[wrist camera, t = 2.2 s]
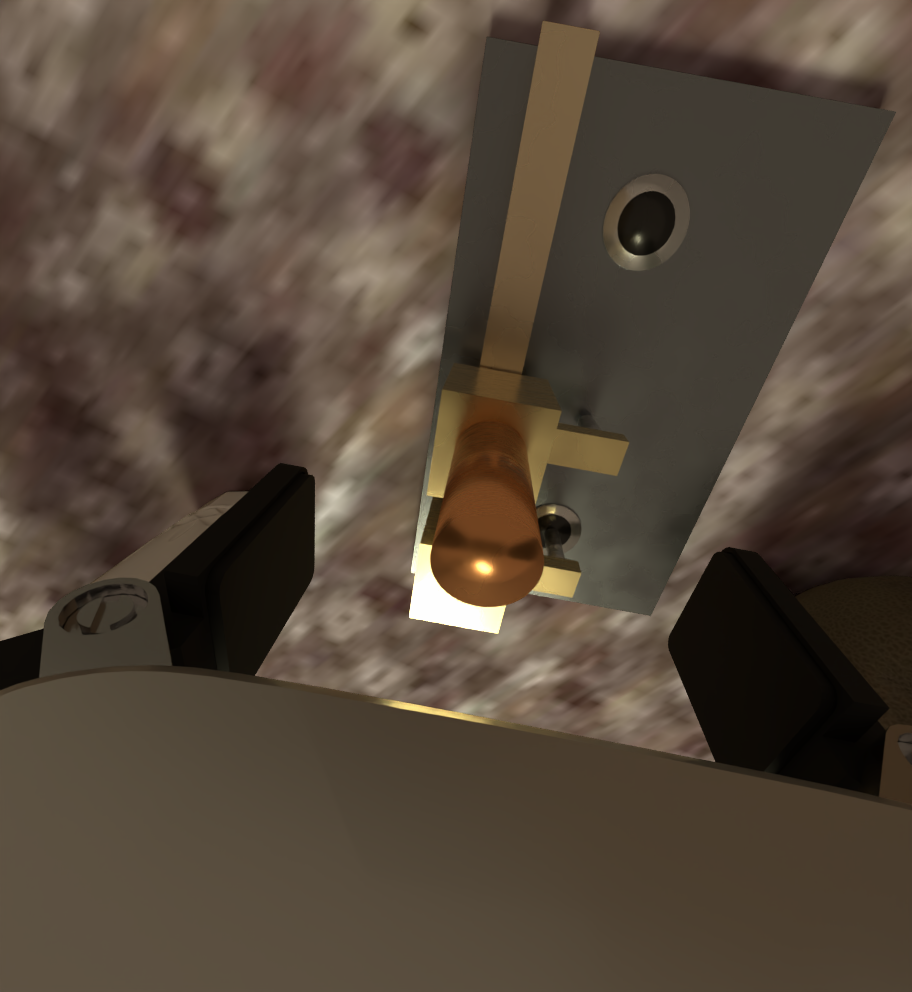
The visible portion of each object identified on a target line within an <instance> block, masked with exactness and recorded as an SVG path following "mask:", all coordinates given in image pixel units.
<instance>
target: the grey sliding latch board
mask: <svg viewBox="0 0 912 992" xmlns="http://www.w3.org/2000/svg"><path fill="white" fill-rule="evenodd" d="M599 33H600V31H596V30H591V29H585V28H580V27H574V26H569V25H564V24H558V23H553V22H547V21H543V23H542V28H541V33H540V38H539V44H538V46H535V45H530V44H524V43H519V42H513V41H508V40H502V39H497V38H491V37H487V39H486V46H485V53H484V60H483V67H482V74H481V81H480V88H479V95H478V102H477V109H476V117H475V124H474V131H473V138H472V145H471V152H470V159H469V166H468V173H467V180H466V187H465V194H464V201H463V208H462V215H461V222H460V230H459V237H458V244H457V251H456V258H455V265H454V272H453V279H452V286H451V293H450V300H449V307H448V314H447V321H446V328H445V335H444V343H443V350H442V357H441V364H440V371H439V378H438V385H437V392H436V399H435V406H434V413H433V420H432V427H431V434H430V441H429V449H428V456H427V463H426V470H425V477H424V484H423V491H422V498H421V505H420V512H419V519H418V526H417V533H416V540H415V547H414V554H413V562H412V569H411V572H412V573H416V574H415V581H414V587H413V594H412V601H411V608H410V614H409V618H414V619H420V620H425V621H431V622H436V623H442V624H447V625H453V626H459V627H464V628H470V629H475V630H481V631H486V632H492V633H497V634H498V631H499V628H500V624H501V621H502V617H503V613H504V610H505V606H506V605H504V606H499V607H478V606H473V605H469V604H466V603H463V602H461V601H459V600H457V599H455V598H453V597H452V596H450V595H449V594H448V593H446V592H445V591H444V590H443V589H442V588H441V587H440V585H439V584H438V583H437V581H436V579H435V578H434V576H433V573H432V570H431V566H430V553H431V548H432V544H433V540H434V535H435V531H436V527H437V522H438V518H439V514H440V509H441V505H442V501H443V498H439V497H434V496H428V495H427V489H428V482H429V476H430V469H431V462H432V455H433V448H434V442H435V435H436V428H437V421H438V414H439V408H440V401H441V394H442V389H443V386H444V384H445V382H446V380H447V377H448V375H449V373H450V370H451V368H452V366H453V364H454V363H459V364H464V365H470V366H475V367H481V368H486V369H492V370H497V371H503V372H508V373H514V374H519V375H525V376H530V377H536V378H541V379H547V380H548V381H549V384H550V386H551V388H552V390H553V393H554V395H555V397H556V399H557V402H558V404H559V406H560V408H561V411H562V412H561V415H560V419H559V422H558V423H564V424H569V425H575V426H578V425H577V424H578V420H579V419H580V418H581V417H582V416H584V415H590V416H592V417H593V418H594V419H595V421H596V422H597V424H598V425H599V427H600V429H601V430H602V431H608V432H613V433H619V434H624V436H625V437H626V438H627V440H628V441H629V445H628V448H627V450H626V453H625V456H624V459H623V461H622V464H621V467H620V469H619V472H618V475H617V476H614V475H609V474H603V473H598V472H592V471H587V470H581V469H576V468H570V467H565V466H559V465H554V464H548V463H547V465H546V469H545V472H544V476H543V479H542V483H541V487H540V490H539V494H538V497H537V501H536V504H535V505H536V511H537V517H538V524H539V530H540V536H541V542H542V548H543V554H544V569H543V573H542V576H541V578H540V580H539V582H538V584H537V585H536V586H535V588H534V589H533V590H532V591H531V592H530V593H529V594H533V595H539V596H544V597H550V598H555V599H561V600H566V601H572V602H577V603H583V604H589V605H594V606H600V607H605V608H611V609H616V610H622V611H627V612H633V613H638V614H644V615H649V616H651V614H652V612H653V610H654V608H655V606H656V604H657V602H658V600H659V598H660V596H661V594H662V592H663V590H664V588H665V585H666V583H667V581H668V579H669V577H670V575H671V573H672V571H673V569H674V567H675V565H676V563H677V561H678V559H679V557H680V555H681V553H682V551H683V549H684V546H685V544H686V542H687V540H688V538H689V536H690V534H691V532H692V530H693V528H694V526H695V524H696V522H697V520H698V518H699V516H700V514H701V512H702V509H703V507H704V505H705V503H706V501H707V499H708V497H709V495H710V493H711V491H712V489H713V487H714V485H715V483H716V481H717V479H718V477H719V475H720V473H721V470H722V468H723V466H724V464H725V462H726V460H727V458H728V456H729V454H730V452H731V450H732V448H733V446H734V444H735V442H736V440H737V438H738V436H739V434H740V431H741V429H742V427H743V425H744V423H745V421H746V419H747V417H748V415H749V413H750V411H751V409H752V407H753V405H754V403H755V401H756V399H757V397H758V395H759V392H760V390H761V388H762V386H763V384H764V382H765V380H766V378H767V376H768V374H769V372H770V370H771V368H772V366H773V364H774V362H775V360H776V358H777V355H778V353H779V351H780V349H781V347H782V345H783V343H784V341H785V339H786V337H787V335H788V333H789V331H790V329H791V327H792V325H793V323H794V321H795V319H796V316H797V314H798V312H799V310H800V308H801V306H802V304H803V302H804V300H805V298H806V296H807V294H808V292H809V290H810V288H811V286H812V284H813V282H814V280H815V277H816V275H817V273H818V271H819V269H820V267H821V265H822V263H823V261H824V259H825V257H826V255H827V253H828V251H829V249H830V247H831V245H832V243H833V241H834V238H835V236H836V234H837V232H838V230H839V228H840V226H841V224H842V222H843V220H844V218H845V216H846V214H847V212H848V210H849V208H850V206H851V204H852V201H853V199H854V197H855V195H856V193H857V191H858V189H859V187H860V185H861V183H862V181H863V179H864V177H865V175H866V173H867V171H868V169H869V167H870V165H871V162H872V160H873V158H874V156H875V154H876V152H877V150H878V148H879V146H880V144H881V142H882V140H883V138H884V136H885V134H886V132H887V130H888V128H889V126H890V123H891V121H892V119H893V117H894V115H895V113H896V112H894V111H888V110H883V109H877V108H872V107H867V106H861V105H856V104H850V103H845V102H839V101H834V100H829V99H823V98H818V97H812V96H807V95H801V94H796V93H790V92H785V91H780V90H774V89H769V88H763V87H758V86H752V85H747V84H742V83H736V82H731V81H725V80H720V79H714V78H709V77H703V76H698V75H693V74H687V73H682V72H676V71H671V70H665V69H660V68H655V67H649V66H644V65H638V64H633V63H627V62H622V61H616V60H611V59H606V58H600V57H595V56H594V55H595V51H596V47H597V42H598V38H599Z"/></svg>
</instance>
